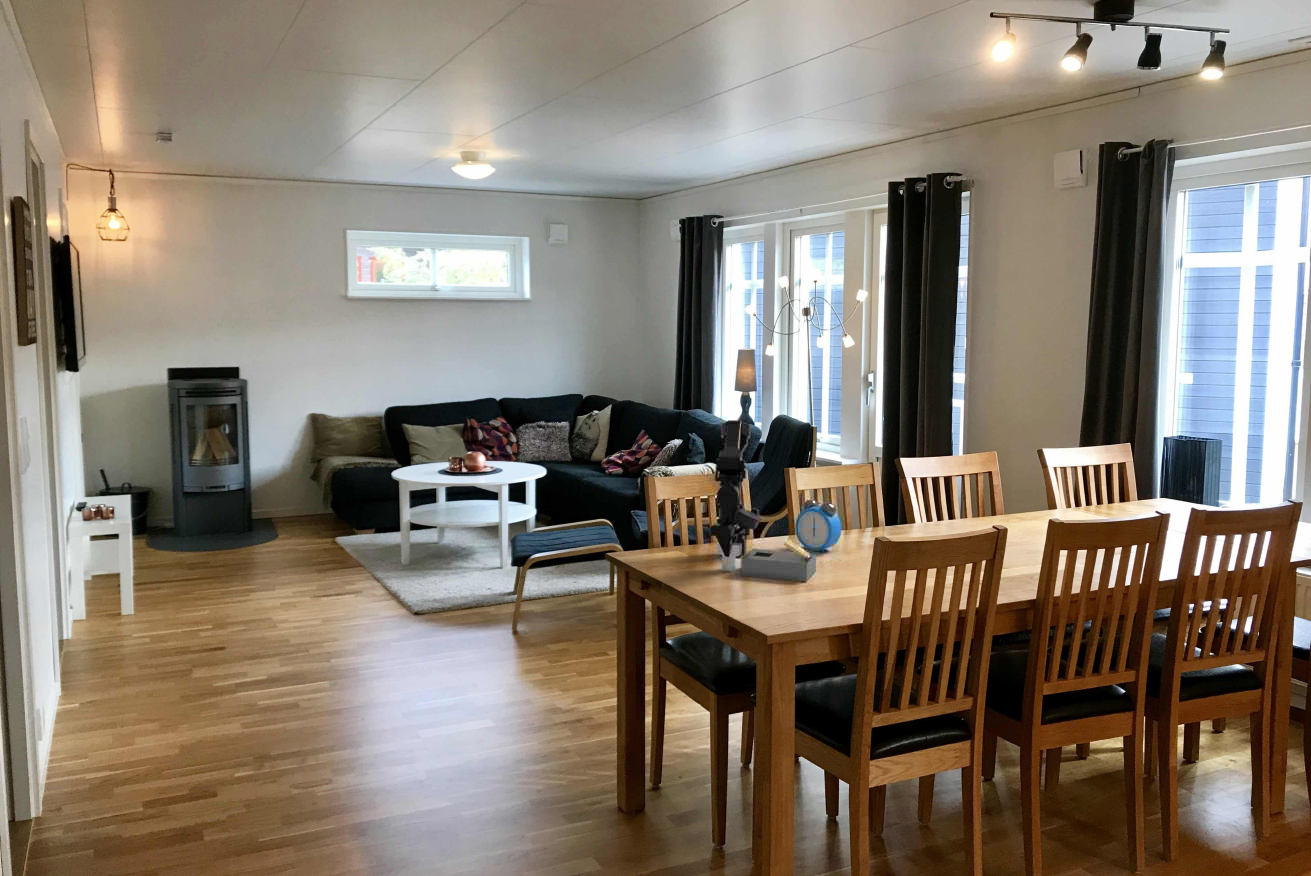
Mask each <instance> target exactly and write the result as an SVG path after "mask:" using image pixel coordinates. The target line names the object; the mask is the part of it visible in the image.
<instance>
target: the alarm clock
mask: <svg viewBox="0 0 1311 876" xmlns="http://www.w3.org/2000/svg"><path fill="white" fill-rule="evenodd" d="M794 526H795V527H794V532H795V534H796V538H797V540H798V541H799V543H800V544H801V545H802V546H803V549H804V550H806V549H807V550H810V551H812V552H813V551H814V552H819V551H821V552H822V553H823V554H824V553H825V551H824V550H825V549H829V548H831V547H834V546H835V545H836V544H837V543H838V542H839V540H840V538H841V534H842V524H841V519H840V517H839V515H838V514H837V507H836V505H835V504H834V503H832V502H829V501H825V502H823V503H822V504H821V502H817V500H815V499H806V501H804V502H803V503H802V504H801V512H800V513H799V514H798V516H797V517H796V518H795V523H794Z"/></svg>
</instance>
